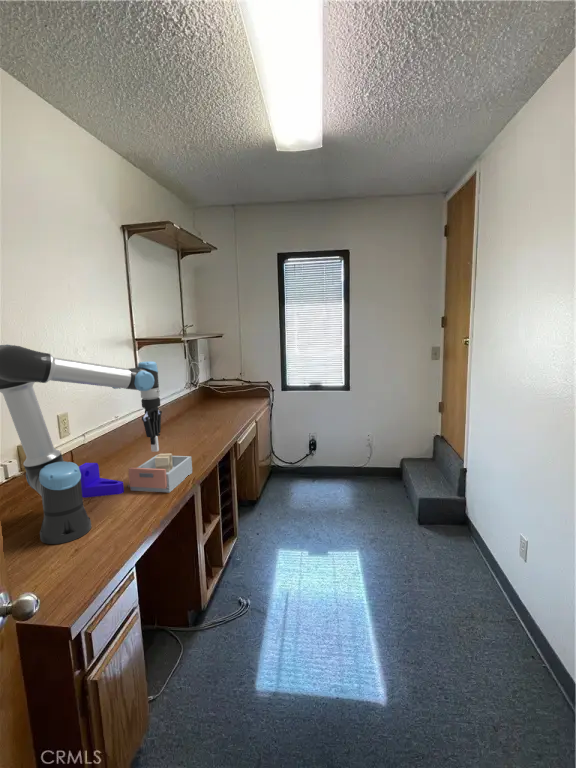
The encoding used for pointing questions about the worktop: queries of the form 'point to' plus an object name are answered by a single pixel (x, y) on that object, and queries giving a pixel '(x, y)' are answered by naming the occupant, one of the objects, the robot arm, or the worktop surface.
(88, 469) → the bracket
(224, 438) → the worktop surface
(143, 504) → the worktop surface
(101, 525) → the worktop surface
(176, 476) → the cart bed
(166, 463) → the beige block
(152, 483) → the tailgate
